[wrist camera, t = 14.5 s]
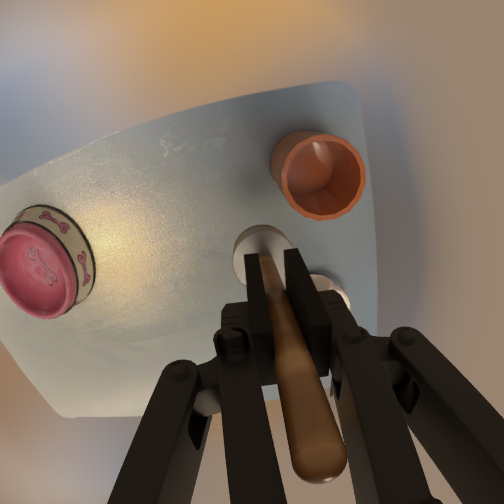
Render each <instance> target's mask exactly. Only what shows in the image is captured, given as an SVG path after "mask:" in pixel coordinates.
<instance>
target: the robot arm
mask: <svg viewBox="0 0 504 504" xmlns="http://www.w3.org/2000/svg"><path fill="white" fill-rule="evenodd" d="M283 252H284V267H285V284H286V292H287V295H288V297H289V300H290V302H291V305H292V307H293V310H294V313H295V315H296V318H297V320H298V323H299V325H300V328H301V331H302V333H303V336H304V338H305V341H306V344H307V346H308V349H309V351H310V354H311V357H312V359H313V362H314V364H315V367H316V370H317V372H318V375H319V377H324V376H328V375H329V368H330V371H331V373H332V380H331V390H330V396H333V394H334V398H335V403H336V407H337V411H338V416H339V420H340V424H341V429H342V434H343V438H344V443H345V448H346V451H347V458H348V462H349V468H350V473H351V478H352V483H353V489H354V494H355V499H356V504H443V503H442V502H441V501H440V500H438V499H436V498H433V496H432V495H431V493H430V490H429V487H428V484H427V481H426V478H425V475H424V472H423V469H422V466H421V463H420V460H419V457H418V454H417V451H416V448H415V446H414V443H413V440H412V437H411V434H410V432H409V429H408V426H409V428H410V429H411V431H412V432H413V433H414V435H415V436H416V438H417V439H418V440H419V442H420V443H421V445H422V446H423V447H424V449H425V450H426V452H427V453H428V455H429V456H430V457H431V459H432V460H433V462H434V463H435V464H436V466H437V467H438V469H439V470H440V472H441V473H442V475H443V476H444V478H445V479H446V480H447V482H448V483H449V484H450V486H451V488H452V489H453V491H454V492H455V493H456V495H457V496H458V498H459V499H460V501H461V502H462V504H504V419H503V417H502V416H501V415H500V414H499V413H498V412H497V411H496V410H495V409H494V408H493V406H492V405H491V404H490V403H489V402H488V401H487V400H486V399H485V398H484V397H483V396H482V395H481V393H479V391H478V390H477V389H476V388H475V387H474V386H473V385H472V384H471V383H470V382H469V381H468V380H467V379H466V378H465V377H464V376H463V375H462V374H461V373H460V371H458V369H457V368H456V367H455V366H454V365H452V363H451V362H450V361H449V360H448V359H447V358H446V357H445V356H444V355H443V354H442V353H441V352H440V351H439V350H438V349H437V348H436V347H435V346H434V345H433V344H432V343H431V342H430V341H429V340H427V338H426V337H424V335H423V334H421V333H420V332H419V331H418V330H416V329H414V328H411V327H399V328H397V329H395V330H393V332H392V333H391V336H390V337H376V336H371V335H370V334H369V333H368V331H367V330H366V329H364V328H362V327H359V326H358V325H357V323H356V321H355V319H354V317H353V316H352V314H351V312H350V310H349V308H348V306H347V305H346V303H345V301H344V299H343V297H342V296H341V294H339V293H338V292H337V291H335V290H334V289H331V290H325V291H317V289H316V287H315V284H314V282H313V280H312V278H311V276H310V274H309V271H308V269H307V267H306V265H305V263H304V261H303V259H302V257H301V254H300V252H299V250H298V248H294V249H286V250H283ZM244 264H245V276H246V287H247V298H248V301H247V302H238V303H229V304H226V305H225V306H224V308H223V309H222V312H221V329H219V330H218V331H217V332H216V333H215V334H214V338H213V341H214V345H215V349H216V353H217V356H216V357H215V358H213V359H212V360H210V361H208V362H206V363H203V364H200V365H197V366H196V364H195V363H193V362H192V361H189V360H177V361H174V362H171V363H170V364H168V365H167V366H166V367H165V368H164V370H163V371H162V373H161V376H160V378H159V380H158V383H157V385H156V387H155V389H154V392H153V394H152V396H151V399H150V401H149V403H148V405H147V408H146V410H145V412H144V415H143V417H142V419H141V422H140V424H139V427H138V429H137V431H136V434H135V436H134V438H133V441H132V443H131V446H130V448H129V451H128V453H127V456H126V458H125V460H124V463H123V465H122V468H121V470H120V473H119V475H118V477H117V480H116V482H115V485H114V487H113V490H112V492H111V495H110V498H109V500H108V503H107V504H190V503H191V499H192V495H193V491H194V487H195V483H196V479H197V475H198V471H199V467H200V463H201V459H202V455H203V451H204V447H205V443H206V439H207V435H208V431H209V427H210V423H211V419H212V415H213V414H216V413H219V412H221V414H222V426H223V436H224V446H225V457H226V466H227V476H228V485H229V494H230V502H231V504H287V500H286V496H285V492H284V488H283V483H282V479H281V474H280V470H279V466H278V461H277V457H276V453H275V448H274V443H273V439H272V434H271V430H270V426H269V420H268V416H267V411H266V407H265V402H264V397H263V392H262V388H261V386H265V385H273V384H277V379H276V374H275V368H274V358H275V351H274V338H273V330H272V324H271V319H270V314H269V308H268V303H267V298H266V292H265V287H264V282H263V276H262V271H261V266H260V260H259V255H258V253H252V254H244ZM407 425H408V426H407Z"/></svg>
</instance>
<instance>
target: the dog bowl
mask: <svg viewBox="0 0 504 504" xmlns="http://www.w3.org/2000/svg"><path fill="white" fill-rule="evenodd" d="M94 281H95V263H94V258H93V254H92V251H91V248H90V246H89V244H88V242H87V240H86V238H85V237H84V235H83V233H82V232H81V230H80V229H79V227H78V226H77V225H76V224H75V223H74V222H73V221H72V220H71V219H70V218H69V217H68V216H67V215H65V214H64V213H62V212H61V211H59V210H57V209H55V208H52V207H48V206H42V205H38V206H32V207H29V208H27V209H25V210H23V211H22V212H21V213H20V214H18V216H17V217H16V218H15V220H14V221H13V223H12V224H11V225H10V226H9V227H8V228H7V229H6V230H5V231H4V233H3V235H2V237H1V238H0V282H1V284H2V286H3V288H4V290H5V292H6V293H7V294H8V296H9V297H10V298H11V300H12V301H13V302H14V303H15V304H16V305H17V306H18V307H19V308H21V309H22V310H23V311H25V312H26V313H28V314H30V315H32V316H34V317H37V318H42V319H52V318H56V317H58V316H60V315H63V314H65V313H67V312H68V311H69V310H71V308H72V307H73V306H75V305H77V304H79V303H80V302H82V301H83V300H84V299H85V298H86V297H87V296H88V295H89V294H90V292H91V290H92V288H93V285H94Z"/></svg>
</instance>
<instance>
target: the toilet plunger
mask: <svg viewBox="0 0 504 504" xmlns="http://www.w3.org/2000/svg"><path fill="white" fill-rule="evenodd" d="M286 249H293V246H292V245H291V243H290V242H289V240H288V239H287V238H286V236H285V235H284V234H283V233H282V232H281V231H280V230H278V229H277V228H275V227H273V226H269V225H255V226H252V227H250V228H248V229H246V230H245V231H243V232H242V233H241V234H240V235H239V237H238V238H237V240H236V242H235V245H234V249H233V269H234V272H235V275H236V277H237V278H238V280H239V281H240V282H241V283H242V284H243V285H244V286H246V276H245V264H244V254H252V253H258V255H259V260H260V266H261V271H262V276H263V282H264V287H265V292H266V298H267V303H268V308H269V314H270V319H271V324H272V330H273V338H274V351H275V358H274V368H275V374H276V379H277V384H278V390H279V395H280V401H281V406H282V411H283V417H284V423H285V428H286V434H287V439H288V445H289V450H290V455H291V461H292V466H293V469H294V471H295V473H296V474H297V475H298V477H300V478H301V479H302V480H304V481H306V482H308V483H312V484H324V483H327V482H330V481H332V480H334V479H335V478H337V477H338V476H339V475H340V474H341V473H342V472H343V470H344V468H345V466H346V463H347V451H346V448H345V445H344V442H343V439H342V437H341V434H340V431H339V428H338V426H337V423H336V421H335V418H334V415H333V412H332V410H331V407H330V404H329V402H328V399H327V396H326V394H325V391H324V388H323V386H322V383H321V380H320V378H319V375H318V372H317V370H316V367H315V364H314V362H313V359H312V357H311V354H310V351H309V349H308V346H307V344H306V341H305V338H304V336H303V333H302V331H301V328H300V325H299V323H298V320H297V318H296V315H295V313H294V310H293V307H292V305H291V302H290V300H289V297H288V295H287V292H286V290H285V287H284V284H285V267H284V252H283V250H286Z"/></svg>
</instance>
